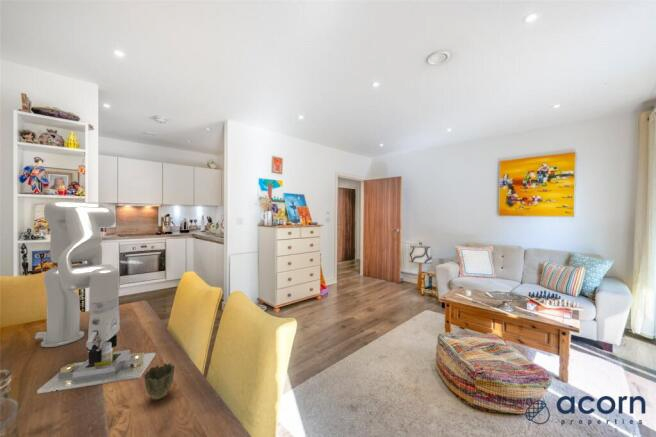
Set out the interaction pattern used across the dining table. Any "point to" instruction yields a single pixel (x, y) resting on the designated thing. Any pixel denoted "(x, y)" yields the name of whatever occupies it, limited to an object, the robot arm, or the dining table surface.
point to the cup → (159, 380)
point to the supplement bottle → (106, 354)
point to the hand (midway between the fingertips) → (103, 354)
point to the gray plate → (99, 372)
